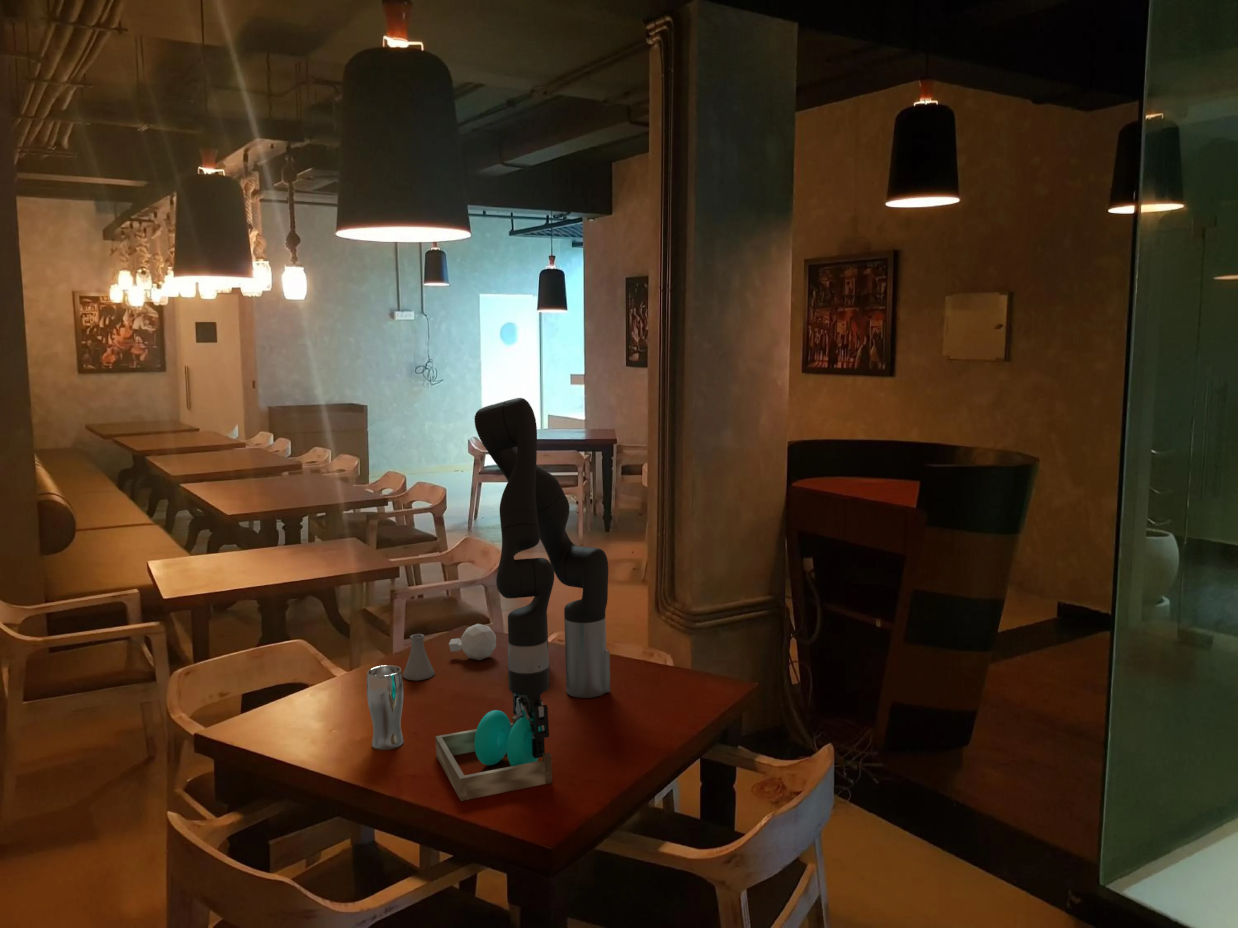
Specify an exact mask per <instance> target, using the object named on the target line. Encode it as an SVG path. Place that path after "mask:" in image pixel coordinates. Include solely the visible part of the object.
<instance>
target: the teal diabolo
mask: <svg viewBox="0 0 1238 928" xmlns="http://www.w3.org/2000/svg"><path fill="white" fill-rule="evenodd" d="M529 719H530V720H531V721H533V718H530V717H529ZM510 723H511V721H510V719H509V717H508V715H507V713H505V712H504V711H501V710H498V709H494V710H491V711H488V712H486V713H485V715H484V716H483V717H482V719H481V720H480V722H479V723H478V725H477V728H476V729H477V731H476V735H475V755H476V758H477V759H478V761H479V762H480V763H481V764H483V765H486V766H495V765H496V764H498V763H499V762H501V761H502V760H503V758H504V757H505V756H507V761H508V763H509V765H510V767H511V766H516V765H521V764H526V763H531V762H537V761H539V758H534V757H533V756H532V737H531V732H530V731H531V726H530V721H529V720H527V718H526V717H525V716H524V717H521V718H520V719H519V720H517V721H516V723H515V724H514V725H513V727H512V729H511V724H510ZM538 731H541V730H540V726H539V727H538Z"/></svg>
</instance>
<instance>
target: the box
mask: <svg viewBox="0 0 1238 928" xmlns="http://www.w3.org/2000/svg"><path fill="white" fill-rule="evenodd" d="M511 717H512V722H510V724H511V729H512V727H513V725H514V724H515V723H516V721H517V720H516V715H514V716H511ZM476 731H477V728H476V729H475V728H473V729H469V730H464V731H463V730H462V731H459V732H458V731H457V732H452V733H447V734H441V735H436V736H435V756H436V758H437V761H438V762H439V764H440V765H441V767H442V770H443V771H444V773H445V775H446V777H447V778H448V779H447V780H449V782H450V784H451V786H452V787H453V789H454V791H455V793H456V795H457V797H458V798H459V800H460V801H461V802H463V801H468V800H472V799H478V798H482V797H483V798H484V797H487V796H493V795H498V794H502V793H508V792H511V791H512V792H513V791H518V790H521V789H527V788H532V787H537V786H541V785H547V784H552V783H553V771H552V770H553V769H552V768H553V764H552V754H551V753H550V752H545V753H543V757H542V760H537V762H531V763H526V764H521V765H516V766H511V765H510V766H506V767H502V768H501V767H500V768H496V769H491V770H485V771H480V772H476V773H471V774H470V773H469V774H465V773H464V772H463V771H462V769H461V767H460V765H459V764H458V762H457V761H456V759H455V757H454V756H458V755H464V754H469V753H474V752H475V735H476ZM475 753H476V752H475Z"/></svg>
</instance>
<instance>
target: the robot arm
mask: <svg viewBox="0 0 1238 928" xmlns="http://www.w3.org/2000/svg"><path fill="white" fill-rule="evenodd" d="M474 427H475V430H476V434H477V436H478V437H479V438H478V439H480V442H481V444H482V446H483V447H484V449H485V450H486V451H487V453H488V454H489V456H490V458H492V460H493V461H494V463H495V464H496V466H497V468H499V470H500V471H501V473H502V475H503V476H504V477H505V478H506V480H507V483H506V486H505V488H504V489H503V492H502V495H501V498H500V504H499V519H500V520H499V521H500V531H501V550H500V551H501V552H500V559H499V563H498V567H497V571H496V572H497V573H496V580H495V582H496V583H495V584H496V589H497V590H498V592H499V594H500V595H501V596H502V597H504V598H505V599H511V600H512V599H520V598H532V597H533V598H532V601H531V602H530V603H528V604H527V605H525V606H522V607H521V606H520V607H518V608H516V609H513V610H512V611H510V612H509V613H510V614H509V613H508V614H509V616H508V615H507V638H508V637H509V646H508V645H507V666H508V667H507V668H508V669H507V671H508V672H507V673H508V675H507V676H508V690H509V691H510V692H511V693H512V713H513V715H514V716H516V720H519V719H520V718H521V717H524V716H525V717H526V718H527V720H529V721H530V726H531V731H530V732H531V737H532V756H533V757H534V758H538V759H539V758H543V753H546V752H545V751H546V749H545V746H546V745H545V739H546V738H549V737H550V731H549V730H550V729H549V728H550V726H549V710H548V709H549V708H548V704H544V702H543V700H542V698H541V695H542V694H544V693H545V692H547V691H548V689H550V662H549V661H550V659H549V658H548V655H549V646H548V647H547V639H546V614H547V615H548V612H547V611H548V607H549V602H550V597H551V594H552V591H553V587H554V582H555V576H556V578H557V579H558V581H559V582H560V583H561V584H563V585H564V586H567V587H571V588H579V589H582V596H581V599H577V600H572V601H571V602H568V603H567V604H565V606H564V609H563V610H564V613H563V615H564V617H563V619H564V650H565V651H564V654H565V686H566V687H565V690H566V694H567V695H568V696H570V697H572V698H573V697H574V698H580V699H591V698H597V697H600V696H603V695H604V694H607V693H610V692H611V668H610V667H611V666H610V665H611V664H610V650H608V649H607V633H606V628H607V627H606V626H607V625H606V612H607V605H608V598H609V589H608V588H609V561H608V557H607V555H606V552H605V551H604V550H603V549H602V548H599V547H598V548H597V547H592V546H590V547H589V546H581V545H576V544H575V543H573V542H572V540H571V539H570V537H569V535H568V533H567V530H566V528H567V524H568V521H569V520H568V519H569V516H570V503H569V499H568V497H567V496H566V493H565V492H564V490H563V487H562V485H561V483H560V482H559V480H558V479H557V478H556V477H555V476H554V475H552V474H551V473H550V472H549V471H548V470H546V469H544V468H542V467H540V466H539V465H537V462H538V460H537V459H538V455H537V454H538V429H537V428H538V426H537V419H536V416H535V413H534V410H533V408H532V406H531V404H530V403H529V401H528V400H526V399H525V398H523V397H515V398H511V399H508V400H505V401H501V402H497V403H493V404H490V405H486V406H483V407H481V408H480V409H478V410H477V411H476V412H475V415H474ZM516 447H517V450H516V449H515V448H516ZM540 542H541V544H542V546H543V548H544V550H545V552H546V555H547V558H548V559H549V560H548V559H547V558H546V557H531V558H519V559H516V558H515V556H516V555H517V554H518V553H520V552H523V551H526V550H530V549H532V548H534V547H536V546H537V545H538V544H539V543H540ZM529 717H530V718H533V721H531V720H530V719H529ZM539 726H540V730H541V731H538V727H539Z"/></svg>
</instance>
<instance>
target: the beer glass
mask: <svg viewBox="0 0 1238 928" xmlns="http://www.w3.org/2000/svg"><path fill="white" fill-rule="evenodd" d="M403 681H404V680H403V672H402V668H401V667H400V666H398V665H392V664H391V665H389V664H388V665H387V664H386V665H379V666H374V667H372V668H370V669H368V670H367V672H366V697H367V703H368V709H369V713H370V719H371V722H372V727H373V729H372V730H373V731H372V733H373V735H372V741H371V746H372V748H373V749H376V750H378V751H379V750H380V751H389V750H394V749H397V748H399V747H401V746H402V745H403V744H404V736H403V733H402V728H401V727H402V726H401V722H402V720H401V719H402V714H403V713H402V712H403V704H404V682H403Z"/></svg>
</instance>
